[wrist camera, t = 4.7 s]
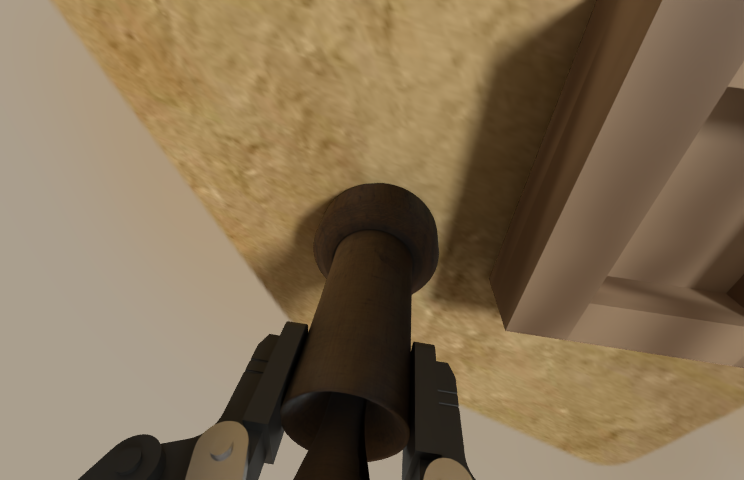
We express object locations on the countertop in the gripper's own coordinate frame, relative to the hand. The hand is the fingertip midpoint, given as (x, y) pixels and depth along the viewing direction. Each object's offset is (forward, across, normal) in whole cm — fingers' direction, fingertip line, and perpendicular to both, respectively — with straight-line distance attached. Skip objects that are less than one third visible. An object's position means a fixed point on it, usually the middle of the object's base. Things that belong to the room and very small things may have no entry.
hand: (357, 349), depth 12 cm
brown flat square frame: (+9, -14, -5) cm, 17 cm away
